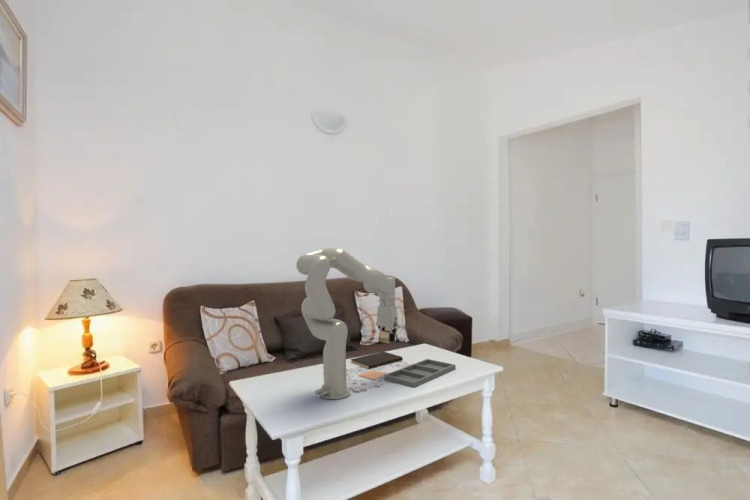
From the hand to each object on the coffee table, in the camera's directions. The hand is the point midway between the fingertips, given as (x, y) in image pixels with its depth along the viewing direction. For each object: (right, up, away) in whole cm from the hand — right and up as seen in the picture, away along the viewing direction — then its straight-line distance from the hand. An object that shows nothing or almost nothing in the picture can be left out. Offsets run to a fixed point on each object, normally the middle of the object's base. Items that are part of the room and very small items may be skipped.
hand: (387, 340), depth 196 cm
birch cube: (0, -1, 0) cm, 1 cm away
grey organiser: (+16, -17, 0) cm, 23 cm away
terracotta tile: (-7, -17, +1) cm, 18 cm away
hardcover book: (-5, -17, +25) cm, 31 cm away
